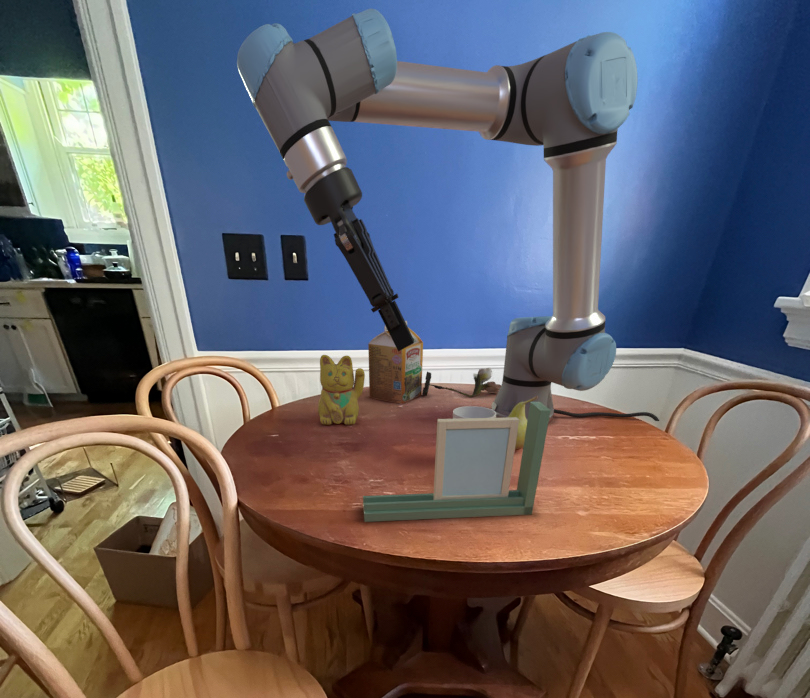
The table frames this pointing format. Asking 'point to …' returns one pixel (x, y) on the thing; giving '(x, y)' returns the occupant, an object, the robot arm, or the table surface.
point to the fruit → (521, 422)
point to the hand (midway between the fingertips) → (406, 346)
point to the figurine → (339, 391)
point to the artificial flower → (479, 386)
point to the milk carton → (395, 369)
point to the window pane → (474, 457)
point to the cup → (473, 412)
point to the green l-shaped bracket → (478, 507)
